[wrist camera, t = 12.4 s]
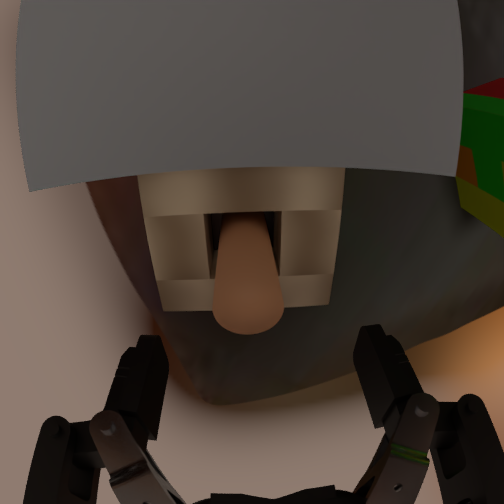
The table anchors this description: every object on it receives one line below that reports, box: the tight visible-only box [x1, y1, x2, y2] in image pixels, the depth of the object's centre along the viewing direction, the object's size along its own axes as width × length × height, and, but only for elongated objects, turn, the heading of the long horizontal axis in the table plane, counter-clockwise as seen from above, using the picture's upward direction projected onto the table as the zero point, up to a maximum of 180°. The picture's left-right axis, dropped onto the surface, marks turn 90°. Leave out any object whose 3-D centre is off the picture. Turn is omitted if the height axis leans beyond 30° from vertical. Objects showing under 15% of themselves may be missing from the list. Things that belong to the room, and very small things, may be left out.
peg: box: [212, 211, 284, 335], centre depth 17 cm, size 3×3×10 cm
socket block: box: [137, 167, 345, 311], centre depth 18 cm, size 12×18×4 cm, turn 1°
